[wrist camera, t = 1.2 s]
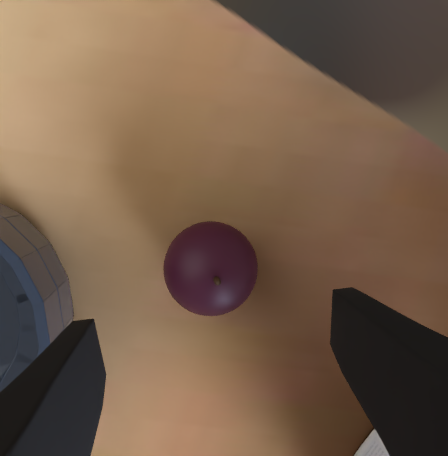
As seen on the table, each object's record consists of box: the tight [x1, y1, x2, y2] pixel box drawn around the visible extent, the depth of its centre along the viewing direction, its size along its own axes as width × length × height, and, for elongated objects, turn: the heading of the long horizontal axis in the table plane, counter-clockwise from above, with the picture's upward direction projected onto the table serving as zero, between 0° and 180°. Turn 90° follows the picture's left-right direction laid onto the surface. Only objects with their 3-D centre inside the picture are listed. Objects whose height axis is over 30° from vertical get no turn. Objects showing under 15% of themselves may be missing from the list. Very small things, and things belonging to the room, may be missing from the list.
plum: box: [164, 222, 258, 316], centre depth 20 cm, size 5×5×6 cm
